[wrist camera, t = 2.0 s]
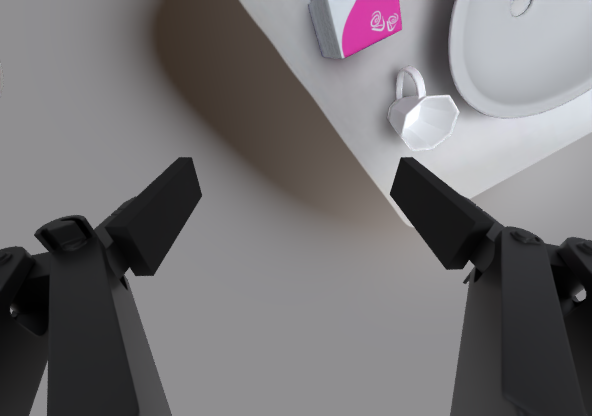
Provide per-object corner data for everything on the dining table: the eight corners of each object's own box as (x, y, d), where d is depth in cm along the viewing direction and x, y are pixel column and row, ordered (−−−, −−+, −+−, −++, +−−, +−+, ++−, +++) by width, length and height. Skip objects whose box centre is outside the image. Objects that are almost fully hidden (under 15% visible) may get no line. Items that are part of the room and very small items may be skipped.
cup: (383, 142, 36) (405, 160, 29) (368, 79, 31) (391, 84, 24) (427, 122, 34) (460, 138, 28) (419, 53, 29) (458, 51, 23)
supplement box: (322, 59, 29) (340, 61, 20) (307, 4, 26) (318, -25, 17) (365, 38, 28) (404, 29, 19) (354, -22, 25) (394, -69, 15)
